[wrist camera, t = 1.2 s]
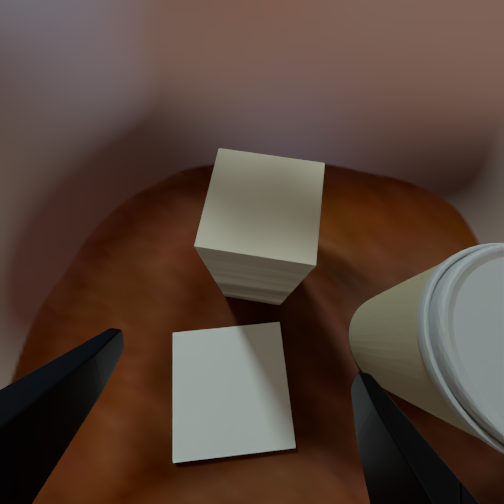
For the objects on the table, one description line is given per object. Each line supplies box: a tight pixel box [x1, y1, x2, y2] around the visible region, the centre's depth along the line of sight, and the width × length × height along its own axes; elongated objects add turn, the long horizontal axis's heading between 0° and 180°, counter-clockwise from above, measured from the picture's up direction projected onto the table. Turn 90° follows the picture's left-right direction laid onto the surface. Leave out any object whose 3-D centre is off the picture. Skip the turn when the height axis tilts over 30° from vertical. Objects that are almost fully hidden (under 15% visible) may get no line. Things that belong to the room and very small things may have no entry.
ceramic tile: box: [173, 322, 296, 463], centre depth 20 cm, size 9×9×1 cm
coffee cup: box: [349, 243, 504, 454], centre depth 16 cm, size 9×9×12 cm
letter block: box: [194, 148, 325, 305], centre depth 17 cm, size 5×5×13 cm
